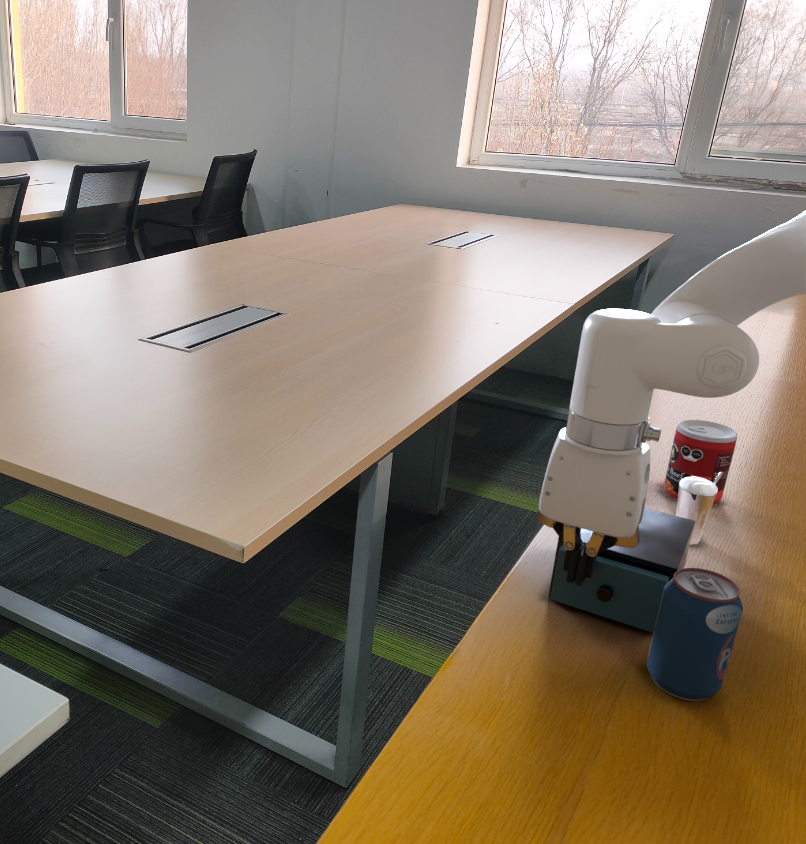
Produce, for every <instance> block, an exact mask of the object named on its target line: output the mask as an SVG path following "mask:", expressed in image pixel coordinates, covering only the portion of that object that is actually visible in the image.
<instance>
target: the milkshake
mask: <svg viewBox="0 0 806 844" xmlns="http://www.w3.org/2000/svg"><path fill="white" fill-rule="evenodd" d="M722 474H723V472H720V473H719V475H718V476H717V478H716V479H715V481H714V482H713V483H712V482H711V481H709V480H707V479H704V478H700V477H696V476H691V477H685V478H683V479H681V480H680V483H679V491H678V500H677V501H676V509H675V514H674V515H675V516H679V517H683V518H687V519H691V520H695V525H694V529H693V533H692V538H691V542H690V546H691V545H692V546H693V545H698V543H700V542H701V538H702V535H703V533H704V529H705V527H706V523H707V521H708V518H709V515H710V512H711V509H712V507H713V505H714V504H713V502H714V499H715V497H716V494H717V492H718V488H717V487H716V483H717V482H718V480H719V478H720V477H721V475H722ZM712 504H713V505H712Z"/></svg>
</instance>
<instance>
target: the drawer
mask: <svg viewBox="0 0 806 844" xmlns="http://www.w3.org/2000/svg"><path fill="white" fill-rule="evenodd" d="M565 554H566V549H565V548H564V546H561V548H560V549H559V553H558V559H557V564H556V570H555V576H554V582H553V587H552V593H551V598H550V600H551V601H554V602H557V603H561V604H563V605H566V606H570V607H572V608H575V609H578V610H581V611H585V612H588V613H591V614H594V615H597V616H601V617H603V618H605V619H608V620H609V619H610V620H613V621H616V622H619V623H622V624H625V625H628V626H632V627H634V628H637V629H640V630H643V631H647V632H650V633H652V634H653V632H654V628H655V624H656V620H657V616H658V611H659V607H660V603H661V599H662V595H663V590H664V587H665V585H666V584H667V583H668V580H669V576H668V573H667V572H663V571H660V570H656V569H653V568H649V567H646V566H642V565H639V564H635V563H632V562H628V561H625V560H621V559H618V558H614V557H611V556H607V555H604V554H600V553H598V554H597V557H596V562H595V567H594V572H593V575H592V577H591V578H587V577H586V578H585V580H584V582H583V584H582V586H578V585H576V584H575V581H574V582H573V583H568V582H566V579H567V574H568V571H564V570H563V565H564V560H565Z"/></svg>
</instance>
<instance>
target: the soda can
mask: <svg viewBox="0 0 806 844" xmlns="http://www.w3.org/2000/svg"><path fill="white" fill-rule="evenodd" d="M741 599H742V598H741V589H740V587H739V585H738V584H736V583H735V582H734V581H733V580H732V579H730V578H728V577H727V576H725V575H723V574H721V573H718V572H715V571H712V570H709V569H705V568H699V567H684V569H680V570H678V571H677V572H676V573H675V574H674V577H673V578H672V579H671V580H670V581H669V582H668V583H667V584H666V585H665V587H664V590H663V595H662V599H661V603H660V607H659V611H658V616H657V620H656V624H655V628H654V632H653V633H652V637H651V642H650V644H649V645H650V646H649V649H648V655H647V658H646V667H647V671H648V673H649V675H650V677H651V679H652V681H653V683H654V685H656V686H657V687H658V688H659V689H660V690H662V691H663V692H665V693H666V694H668V695H670V696H672V697H674V698H676V699H681V700H684V701H691V702H700V701H701V702H702V701H705V700H707V699H709V698H711V697H713V695H716V694H717V693H718V692H719V691H720V690H721V688H722V687H723V684H724V681H725V676H726V673H727V670H728V666H729V662H730V659H731V654H732V652H733V648H734V644H735V640H736V637H737V633H738V630H739V626H740V622H741V619H742V615H743V612H744V606H743V603H742V600H741Z"/></svg>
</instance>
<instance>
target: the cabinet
mask: <svg viewBox="0 0 806 844" xmlns="http://www.w3.org/2000/svg"><path fill="white" fill-rule="evenodd" d="M675 515H676V514H671V513H666V512H663V511H658V510H654V509H651V508H647V507H645V509H644V513H643V517H642V520H641V523H640V524H638V525H639V537H640V540H639V543H638V545H637V546H636V547H634V548H631V547H618V546H613V547H611V548H609V549H606V550H604V551H602V552H600V554H604V555H607V556H611V557H614V558H618V559H621V560H625V561H628V562H632V563H635V564H639V565H642V566H646V567H649V568H653V569H656V570H660V571H663V572H667V573H668V576H669V580H668V582H669V581H670V580H671V579H672V578H673V577H674V574H675V573H676V572H677V571H678V570H680V569H684V568H685V566H686V561H687V558H688V554H689V550H690V546H691V545H690V542H691V538H692V533H693V529H694V525H695V520H691V519H687V518H683V517H679V516H675ZM592 533H593V531H590V530H586V529H582V528H581V539H582V541H583V544H584V547H585V545H586V544H587V542H588V541H590V538H591V535H592ZM561 546H564V545H563V541H562V540H561V538H560V537H559V536H558V537H557V543H556V548H555V549H556V550H555V554H554V555H555V556H554V561H553V567H552V573H551V579H550V585H549V591H548V595H547V597H548V599H551V593H552V587H553V582H554V576H555V570H556V564H557V559H558V553H559V549H560V548H561Z"/></svg>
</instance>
